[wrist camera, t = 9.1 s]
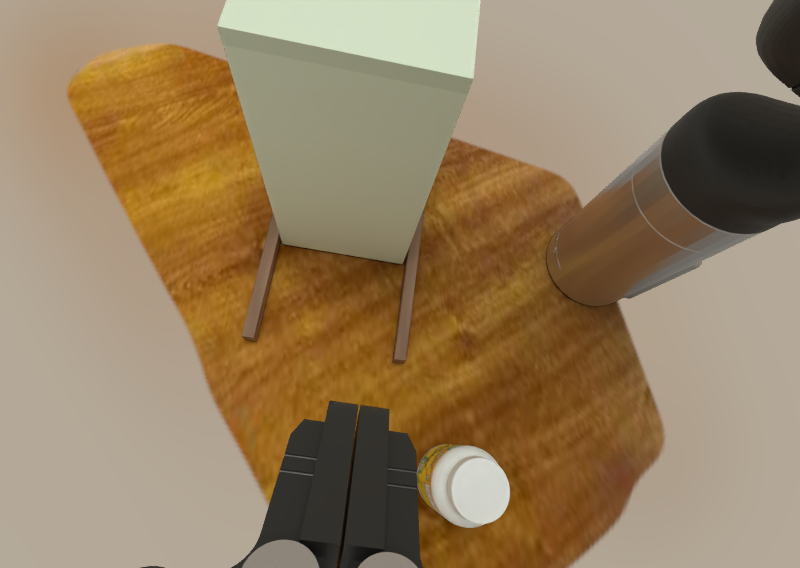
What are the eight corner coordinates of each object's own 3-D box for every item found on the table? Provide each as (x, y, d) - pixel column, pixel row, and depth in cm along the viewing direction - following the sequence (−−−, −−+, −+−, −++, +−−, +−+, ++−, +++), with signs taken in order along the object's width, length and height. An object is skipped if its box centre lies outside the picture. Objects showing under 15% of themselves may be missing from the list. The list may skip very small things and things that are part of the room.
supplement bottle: (432, 524, 36) (463, 554, 27) (404, 461, 38) (425, 470, 29) (488, 491, 38) (535, 510, 29) (459, 432, 39) (495, 432, 30)
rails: (427, 167, 47) (431, 156, 45) (403, 363, 40) (406, 359, 38) (294, 142, 46) (292, 129, 44) (245, 339, 39) (240, 334, 37)
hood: (414, 176, 46) (486, -68, 24) (402, 264, 43) (473, 78, 20) (303, 155, 45) (268, -119, 23) (282, 244, 42) (217, 26, 19)
